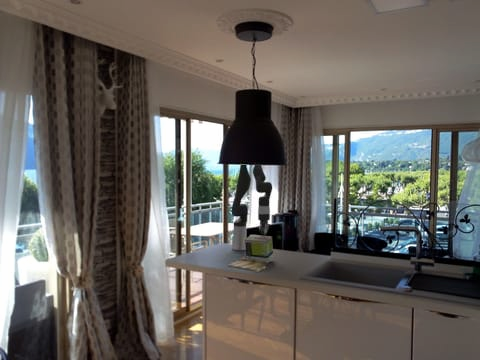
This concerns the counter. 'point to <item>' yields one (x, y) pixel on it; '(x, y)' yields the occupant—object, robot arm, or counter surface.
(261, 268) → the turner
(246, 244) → the tea box
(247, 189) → the robot arm
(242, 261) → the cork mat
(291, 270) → the counter surface
